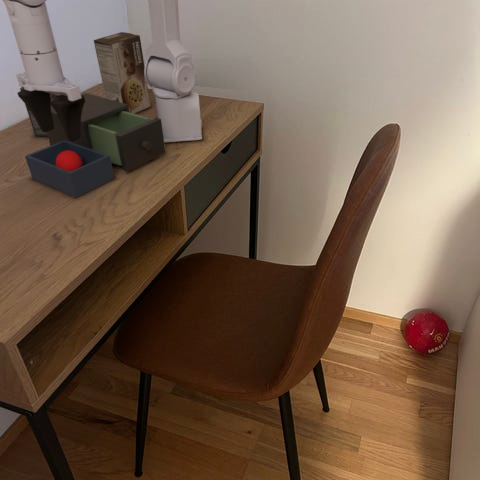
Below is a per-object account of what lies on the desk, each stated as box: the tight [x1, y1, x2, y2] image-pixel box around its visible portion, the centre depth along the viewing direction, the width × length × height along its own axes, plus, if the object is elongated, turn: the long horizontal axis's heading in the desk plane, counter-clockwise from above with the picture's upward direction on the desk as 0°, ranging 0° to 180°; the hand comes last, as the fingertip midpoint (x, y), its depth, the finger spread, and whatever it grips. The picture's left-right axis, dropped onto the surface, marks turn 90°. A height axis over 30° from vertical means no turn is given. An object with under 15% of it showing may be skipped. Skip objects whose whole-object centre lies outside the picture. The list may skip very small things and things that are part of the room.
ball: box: [56, 150, 83, 172], centre depth 89 cm, size 5×5×5 cm
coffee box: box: [93, 31, 151, 114], centre depth 113 cm, size 9×6×16 cm
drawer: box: [86, 111, 166, 172], centre depth 94 cm, size 14×11×7 cm
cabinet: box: [47, 92, 130, 149], centre depth 99 cm, size 13×12×8 cm
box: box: [24, 140, 115, 199], centre depth 89 cm, size 13×9×5 cm
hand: (61, 135), depth 85 cm, fingers open, 7 cm apart
